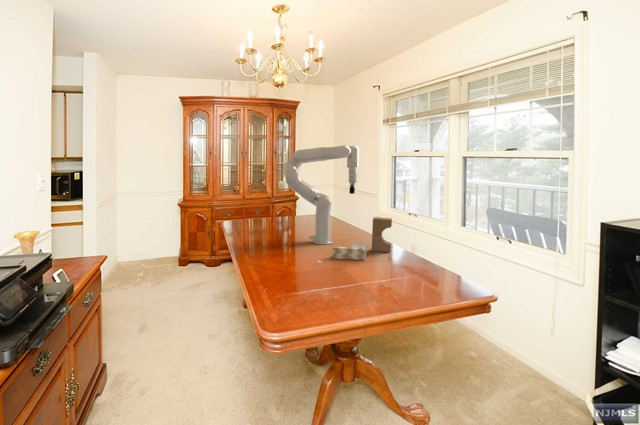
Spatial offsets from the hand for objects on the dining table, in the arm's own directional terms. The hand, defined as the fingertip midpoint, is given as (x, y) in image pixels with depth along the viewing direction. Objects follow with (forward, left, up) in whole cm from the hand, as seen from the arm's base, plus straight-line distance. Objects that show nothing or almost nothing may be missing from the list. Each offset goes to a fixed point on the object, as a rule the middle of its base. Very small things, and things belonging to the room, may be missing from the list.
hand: (352, 193), depth 238 cm
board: (+2, -41, -32) cm, 52 cm away
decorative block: (+20, -21, -32) cm, 43 cm away
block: (+7, -35, -32) cm, 48 cm away
